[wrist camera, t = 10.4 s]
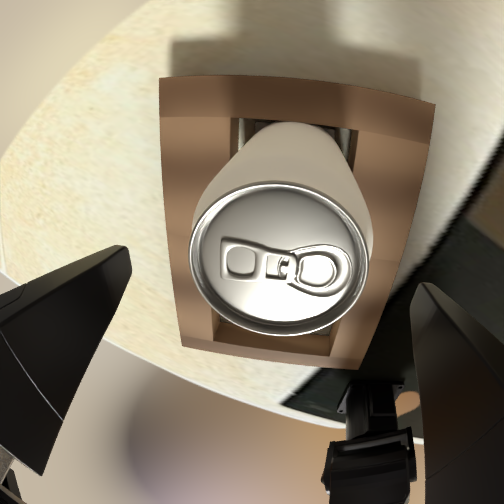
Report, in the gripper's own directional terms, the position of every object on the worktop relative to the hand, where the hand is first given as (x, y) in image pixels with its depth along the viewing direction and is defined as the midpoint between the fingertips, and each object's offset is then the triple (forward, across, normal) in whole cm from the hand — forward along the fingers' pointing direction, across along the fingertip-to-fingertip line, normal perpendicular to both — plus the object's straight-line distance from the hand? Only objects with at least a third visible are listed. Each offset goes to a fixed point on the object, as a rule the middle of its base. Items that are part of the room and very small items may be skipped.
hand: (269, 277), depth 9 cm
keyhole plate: (+13, 0, +5) cm, 14 cm away
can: (+13, 0, 0) cm, 13 cm away
